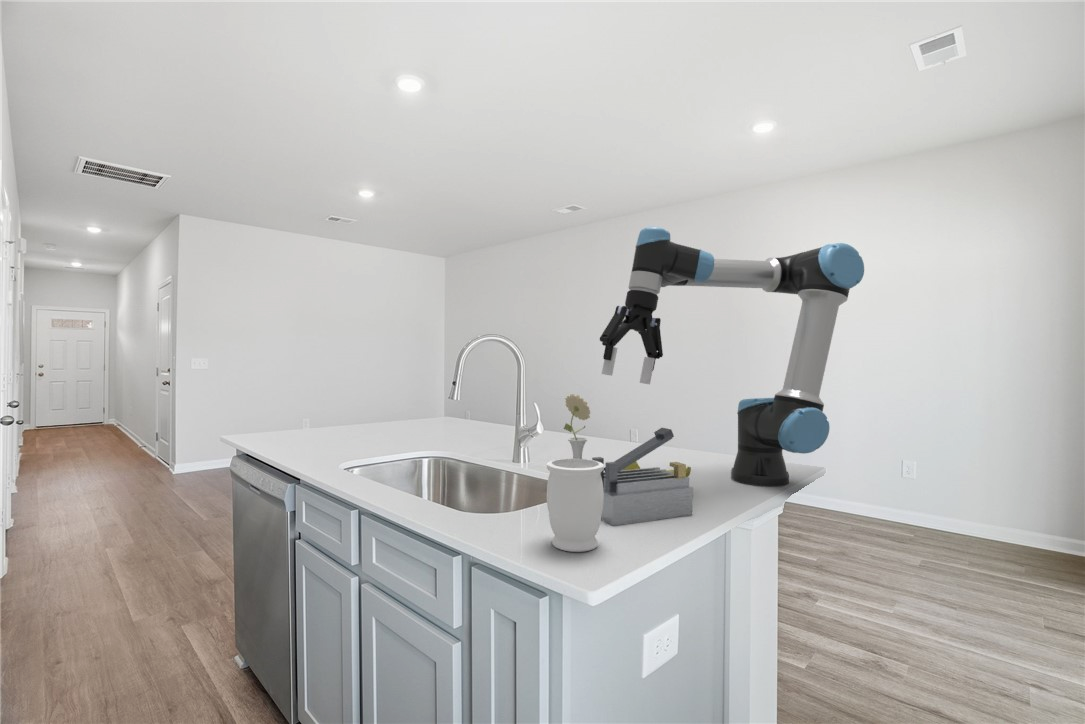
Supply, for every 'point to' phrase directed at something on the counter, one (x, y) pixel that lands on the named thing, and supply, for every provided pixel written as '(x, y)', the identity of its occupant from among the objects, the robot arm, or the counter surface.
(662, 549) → the counter surface
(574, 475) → the jar
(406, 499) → the counter surface
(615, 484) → the heatsink block
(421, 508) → the counter surface
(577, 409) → the flower in vase
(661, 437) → the dark grey flat bar
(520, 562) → the counter surface
